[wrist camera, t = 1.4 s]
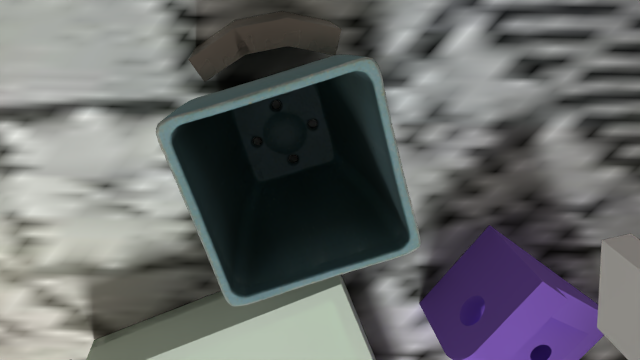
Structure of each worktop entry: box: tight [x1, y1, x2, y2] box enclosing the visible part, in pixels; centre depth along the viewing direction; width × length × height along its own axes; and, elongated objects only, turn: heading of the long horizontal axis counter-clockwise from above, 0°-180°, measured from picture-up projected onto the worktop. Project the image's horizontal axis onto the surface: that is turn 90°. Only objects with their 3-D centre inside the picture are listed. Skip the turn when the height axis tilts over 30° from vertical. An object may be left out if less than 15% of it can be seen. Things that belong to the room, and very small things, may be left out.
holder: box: [188, 11, 341, 81], centre depth 28 cm, size 12×7×4 cm, turn 10°
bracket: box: [419, 225, 604, 360], centre depth 34 cm, size 12×7×7 cm, turn 52°
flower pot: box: [156, 55, 421, 307], centre depth 26 cm, size 9×9×9 cm
